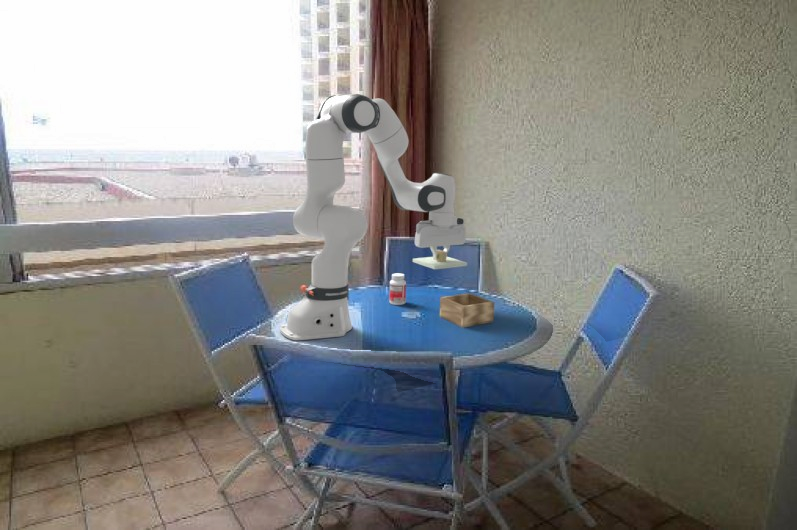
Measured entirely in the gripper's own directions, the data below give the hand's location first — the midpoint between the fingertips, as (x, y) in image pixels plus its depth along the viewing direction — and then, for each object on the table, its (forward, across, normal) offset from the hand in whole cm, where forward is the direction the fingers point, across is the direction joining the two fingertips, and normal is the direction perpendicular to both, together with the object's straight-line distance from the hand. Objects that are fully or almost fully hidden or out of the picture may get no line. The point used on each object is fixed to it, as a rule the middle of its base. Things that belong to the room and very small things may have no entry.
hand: (439, 258), depth 183 cm
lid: (+2, 0, 0) cm, 2 cm away
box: (+19, +1, -16) cm, 24 cm away
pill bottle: (+19, -10, +12) cm, 25 cm away
